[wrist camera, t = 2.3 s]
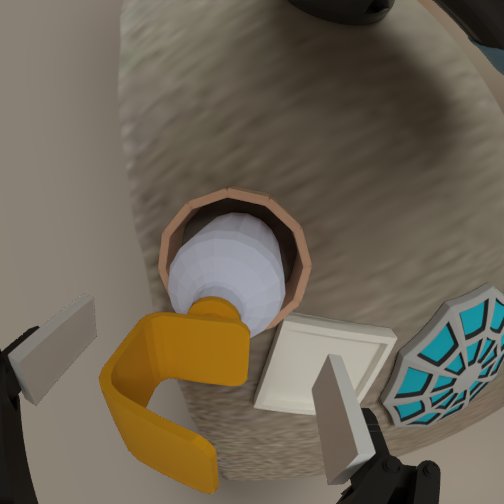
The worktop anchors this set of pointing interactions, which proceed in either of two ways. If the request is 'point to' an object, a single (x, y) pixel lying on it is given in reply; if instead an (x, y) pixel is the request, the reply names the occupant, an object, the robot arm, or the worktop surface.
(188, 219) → the holder ring
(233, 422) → the worktop surface
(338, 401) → the robot arm
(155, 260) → the worktop surface
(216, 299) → the soap bottle
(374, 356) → the tray
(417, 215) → the worktop surface
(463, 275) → the worktop surface
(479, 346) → the decorative platform
